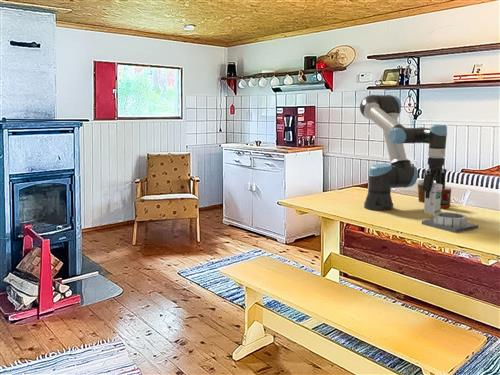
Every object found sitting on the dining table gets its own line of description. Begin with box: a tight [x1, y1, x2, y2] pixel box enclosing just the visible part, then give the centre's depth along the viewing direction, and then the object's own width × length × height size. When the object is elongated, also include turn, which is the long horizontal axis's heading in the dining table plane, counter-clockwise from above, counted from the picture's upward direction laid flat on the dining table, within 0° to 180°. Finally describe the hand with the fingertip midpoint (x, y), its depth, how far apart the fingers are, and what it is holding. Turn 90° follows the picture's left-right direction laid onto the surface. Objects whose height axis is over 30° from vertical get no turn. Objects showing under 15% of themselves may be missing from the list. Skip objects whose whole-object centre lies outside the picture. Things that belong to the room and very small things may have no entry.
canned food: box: [441, 186, 452, 210], centre depth 256 cm, size 8×8×11 cm
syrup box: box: [423, 182, 442, 215], centre depth 233 cm, size 6×6×14 cm
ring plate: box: [421, 211, 480, 233], centre depth 216 cm, size 18×16×5 cm
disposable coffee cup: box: [416, 179, 435, 203], centre depth 272 cm, size 10×10×12 cm
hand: (432, 203), depth 233 cm, fingers closed on syrup box, 6 cm apart
